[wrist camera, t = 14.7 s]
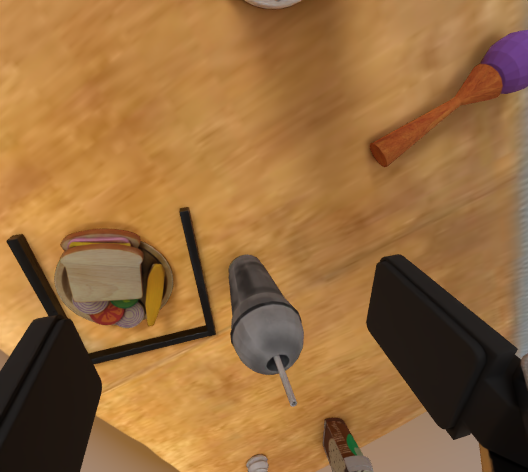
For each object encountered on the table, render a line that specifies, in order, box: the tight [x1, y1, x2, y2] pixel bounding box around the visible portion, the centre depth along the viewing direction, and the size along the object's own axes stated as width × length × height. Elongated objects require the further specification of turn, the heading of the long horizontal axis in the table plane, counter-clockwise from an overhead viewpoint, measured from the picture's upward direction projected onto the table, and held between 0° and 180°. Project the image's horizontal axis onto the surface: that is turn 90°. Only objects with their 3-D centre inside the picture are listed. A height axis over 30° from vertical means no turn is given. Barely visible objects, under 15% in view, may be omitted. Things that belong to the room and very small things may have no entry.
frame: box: [7, 207, 216, 364], centre depth 35 cm, size 19×18×1 cm
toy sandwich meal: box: [55, 229, 173, 328], centre depth 33 cm, size 12×14×5 cm
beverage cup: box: [229, 255, 304, 406], centre depth 30 cm, size 7×7×20 cm
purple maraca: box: [370, 30, 528, 167], centre depth 33 cm, size 6×6×20 cm
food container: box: [323, 418, 373, 472], centre depth 58 cm, size 12×6×10 cm, turn 4°
